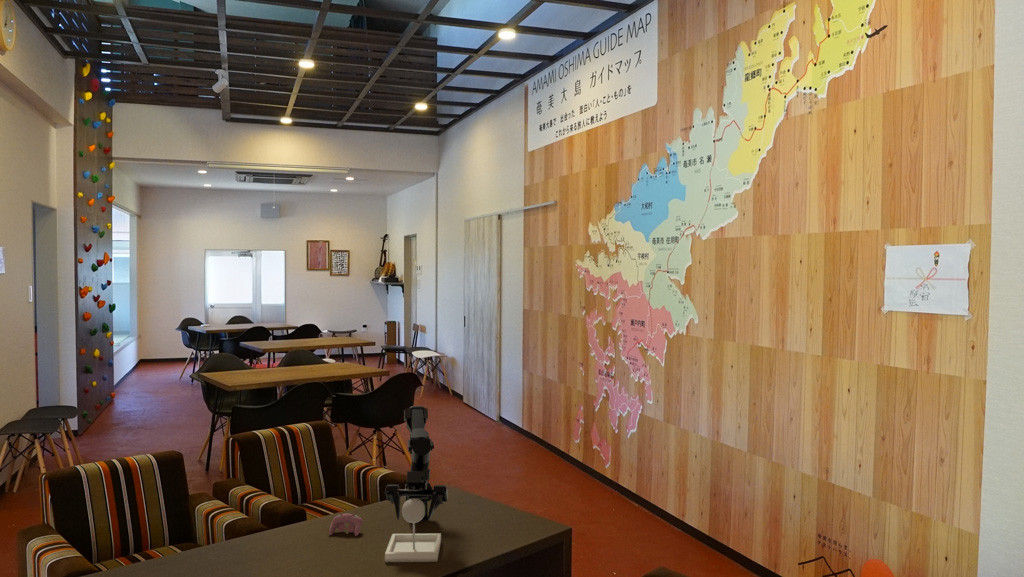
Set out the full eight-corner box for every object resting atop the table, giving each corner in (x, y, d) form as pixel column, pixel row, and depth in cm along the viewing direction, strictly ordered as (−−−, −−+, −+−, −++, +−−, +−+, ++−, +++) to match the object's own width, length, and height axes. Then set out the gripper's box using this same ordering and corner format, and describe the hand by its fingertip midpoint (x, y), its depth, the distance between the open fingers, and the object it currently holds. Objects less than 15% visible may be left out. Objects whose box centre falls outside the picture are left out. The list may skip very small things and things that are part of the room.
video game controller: (361, 537, 215) (364, 514, 218) (357, 535, 211) (360, 512, 214) (331, 536, 216) (335, 513, 219) (327, 534, 212) (330, 511, 215)
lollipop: (426, 552, 198) (426, 501, 197) (402, 554, 196) (401, 503, 196) (425, 543, 205) (424, 494, 204) (401, 544, 203) (401, 495, 203)
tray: (392, 541, 208) (392, 533, 208) (440, 541, 208) (440, 533, 208) (384, 562, 193) (384, 553, 193) (437, 561, 193) (437, 553, 193)
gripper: (385, 458, 204) (377, 506, 193) (446, 459, 204) (442, 507, 193) (391, 476, 212) (383, 524, 201) (449, 477, 212) (445, 524, 201)
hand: (413, 519), depth 199 cm, fingers open, 9 cm apart
